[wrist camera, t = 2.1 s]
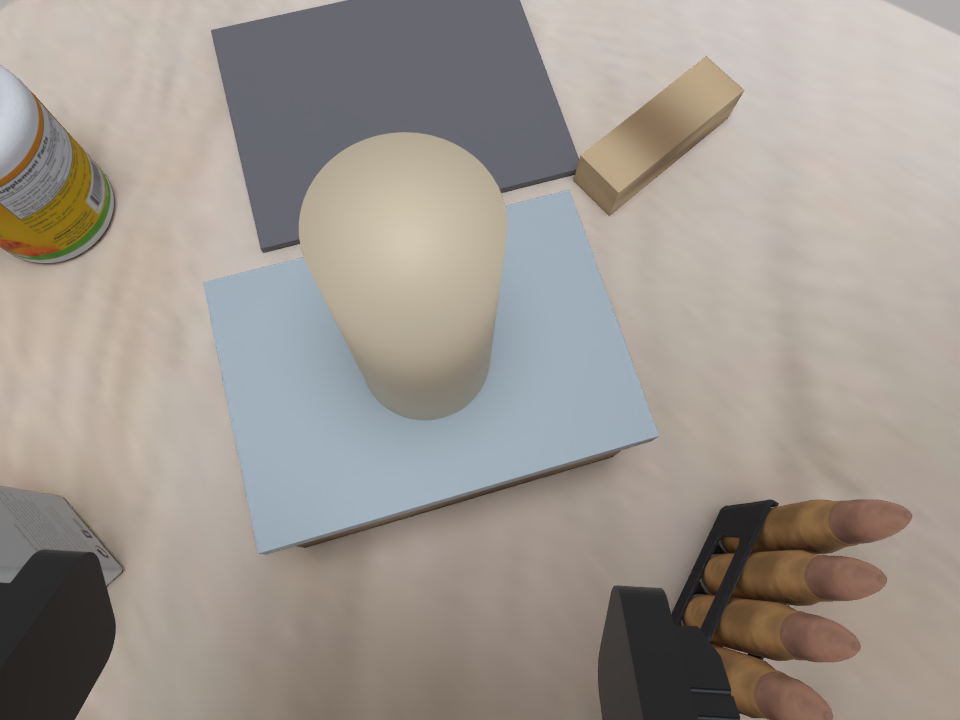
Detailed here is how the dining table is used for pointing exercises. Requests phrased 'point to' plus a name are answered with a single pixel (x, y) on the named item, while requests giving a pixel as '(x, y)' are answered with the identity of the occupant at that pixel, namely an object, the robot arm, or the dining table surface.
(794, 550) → the ammunition clip
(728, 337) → the dining table surface
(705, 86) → the wooden block
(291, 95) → the mat
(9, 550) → the skincare box
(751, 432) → the dining table surface
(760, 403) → the dining table surface
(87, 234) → the supplement bottle
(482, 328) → the lid
